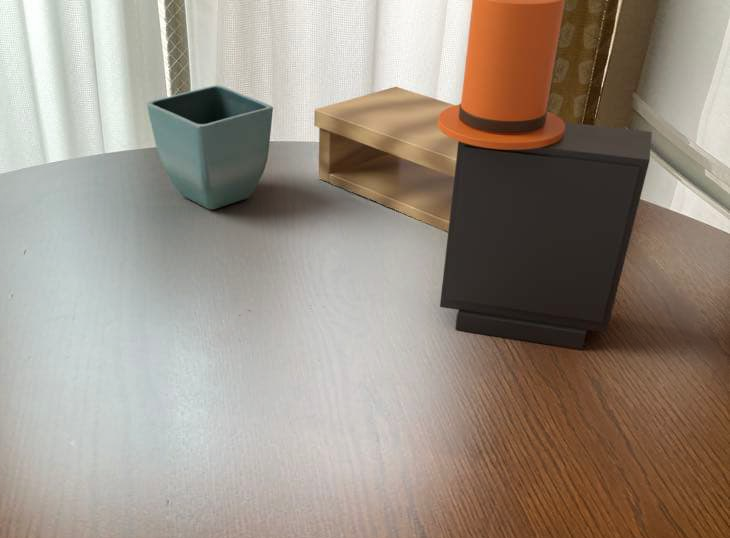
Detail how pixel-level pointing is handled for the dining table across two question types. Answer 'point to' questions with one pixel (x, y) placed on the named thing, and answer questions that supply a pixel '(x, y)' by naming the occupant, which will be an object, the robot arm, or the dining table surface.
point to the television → (543, 234)
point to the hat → (508, 76)
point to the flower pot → (212, 143)
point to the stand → (390, 152)
